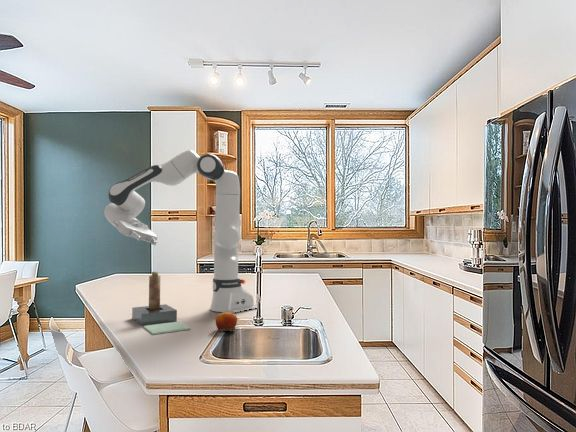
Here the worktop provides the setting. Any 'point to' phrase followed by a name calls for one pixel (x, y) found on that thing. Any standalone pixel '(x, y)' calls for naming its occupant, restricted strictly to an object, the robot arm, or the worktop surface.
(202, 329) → the worktop surface
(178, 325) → the mat
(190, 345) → the worktop surface
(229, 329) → the fruit
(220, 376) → the worktop surface
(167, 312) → the housing
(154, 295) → the bottle
